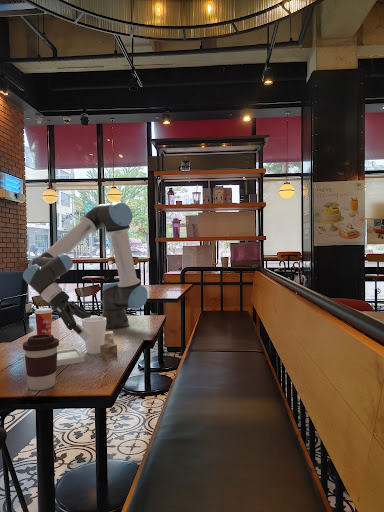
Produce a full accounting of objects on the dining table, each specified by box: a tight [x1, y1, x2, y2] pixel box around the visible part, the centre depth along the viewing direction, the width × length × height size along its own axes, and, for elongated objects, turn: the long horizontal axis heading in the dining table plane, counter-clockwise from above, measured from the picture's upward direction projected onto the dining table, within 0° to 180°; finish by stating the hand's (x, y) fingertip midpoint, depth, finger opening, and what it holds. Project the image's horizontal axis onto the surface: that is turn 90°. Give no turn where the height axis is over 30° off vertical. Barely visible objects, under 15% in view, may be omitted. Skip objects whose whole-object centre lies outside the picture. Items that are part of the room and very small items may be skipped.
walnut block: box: [99, 343, 118, 360], centre depth 134 cm, size 4×4×4 cm
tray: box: [57, 347, 85, 367], centre depth 131 cm, size 13×13×2 cm
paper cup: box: [34, 307, 53, 335], centre depth 162 cm, size 8×8×14 cm
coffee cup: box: [22, 333, 60, 391], centre depth 106 cm, size 10×10×15 cm
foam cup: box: [81, 316, 107, 355], centre depth 142 cm, size 10×9×13 cm
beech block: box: [104, 330, 115, 344], centre depth 155 cm, size 4×4×4 cm
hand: (93, 334), depth 141 cm, fingers open, 13 cm apart
